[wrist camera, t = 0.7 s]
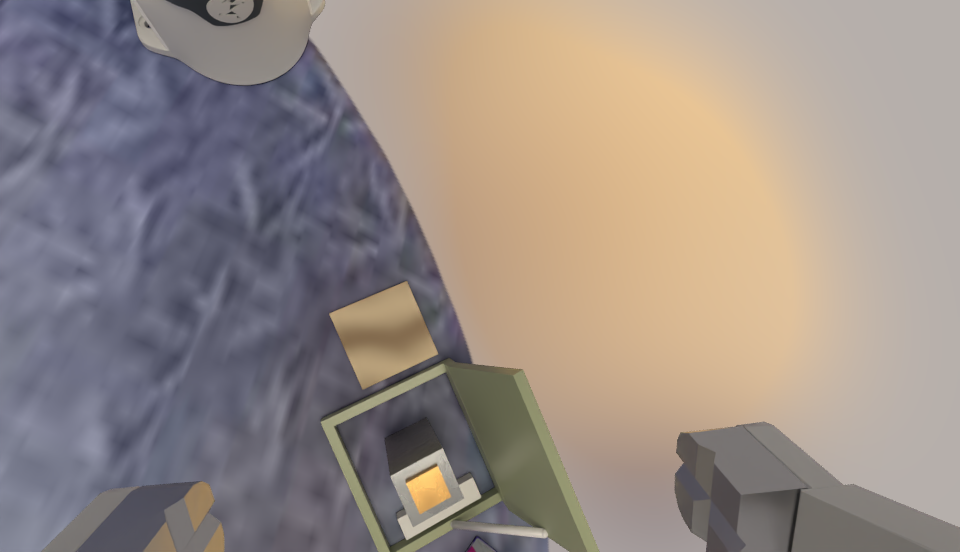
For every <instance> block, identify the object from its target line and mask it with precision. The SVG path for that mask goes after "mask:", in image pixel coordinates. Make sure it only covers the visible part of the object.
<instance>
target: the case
mask: <svg viewBox="0 0 960 552" xmlns="http://www.w3.org/2000/svg"><path fill="white" fill-rule="evenodd" d="M445 372H446V374H447V376H448V379H449V381H450V383H451V386H452V388H453V390H454V393H455V395H456V397H457V400H458V402H459V404H460V407H461V409H462V411H463V414H464V416H465V418H466V421H467V423H468V425H469V427H470V430H471V432H472V434H473V437H474V439H475V441H476V444H477V446H478V448H479V451H480V453H481V455H482V458H483V460H484V462H485V465H486V467H487V469H488V472H489V474H490V476H491V479H492V481H493V483H494V486H495V488H493V489H491V490H489V491H487V492H486V493H484V494H482V495H480V493H479V491H478V488H477V486H476V484H475V481H474V479H473V477H472V475H471V474H470V473H468V474H466V475H464V476H462V477H461V478H459V479H457V482H458V485H459V487H460V489H461V492H462V494H463V496H464V499H462V500H461V501H459V502H457V503H455V504H454V505H452V506H450V507H448V508H447V509H445V510H443V511H441V512H439V513H438V514H436V515H434V516H432V517H431V518H429V519H427V520H425V521H424V522H422V523H420V524H418V525H417V526H415V527H413V526H412V524H411V522H410V520H409V517H408V515H407V513H406V510H405V509H403V510H401V511H399V512H397V520H398V522H399V524H400V526H401V529H402V531H403V533H404V535H405V539H403V540H402V541H400V542H398V543H396V544H395V545H393V546H391V547H390V545H389V543H388V541H387V539H386V536H385V534H384V532H383V530H382V528H381V525H380V523H379V521H378V519H377V516H376V514H375V512H374V510H373V507H372V505H371V503H370V501H369V498H368V496H367V494H366V492H365V489H364V487H363V485H362V483H361V481H360V478H359V476H358V474H357V472H356V469H355V467H354V465H353V463H352V460H351V458H350V456H349V454H348V451H347V449H346V447H345V445H344V442H343V440H342V438H341V436H340V433H339V431H338V429H337V427H336V425H338V424H340V423H342V422H344V421H346V420H348V419H350V418H352V417H354V416H356V415H358V414H360V413H363V412H365V411H367V410H369V409H371V408H373V407H375V406H377V405H379V404H381V403H383V402H385V401H387V400H389V399H391V398H393V397H396V396H398V395H400V394H402V393H404V392H406V391H408V390H410V389H412V388H414V387H416V386H418V385H420V384H422V383H424V382H426V381H429V380H431V379H433V378H435V377H437V376H439V375H441V374H443V373H445ZM321 424H322V427H323V429H324V431H325V433H326V436H327V438H328V440H329V442H330V444H331V447H332V449H333V451H334V453H335V456H336V458H337V460H338V462H339V465H340V467H341V469H342V471H343V473H344V476H345V478H346V480H347V482H348V485H349V487H350V489H351V491H352V494H353V496H354V498H355V500H356V502H357V505H358V507H359V509H360V511H361V514H362V516H363V518H364V520H365V523H366V525H367V527H368V529H369V531H370V534H371V536H372V538H373V540H374V543H375V545H376V547H377V549H378V552H414V551H416V550H418V549H420V548H421V547H423V546H425V545H426V544H428V543H430V542H432V541H433V540H435V539H437V538H438V537H440V536H442V535H444V534H445V533H447V532H449V531H450V530H452V529H462V530H472V531H481V532H491V533H500V534H510V535H519V536H529V537H538V538H547V537H549V538H550V539H552V540H553V541H555V542H556V543H558V544H559V545H560V546H562V547H563V548H565V549H566V550H568V551H569V552H599V549H598V547H597V545H596V542H595V540H594V538H593V535H592V533H591V530H590V528H589V526H588V523H587V521H586V519H585V516H584V514H583V511H582V509H581V506H580V504H579V502H578V499H577V497H576V495H575V492H574V490H573V487H572V485H571V483H570V480H569V478H568V476H567V473H566V471H565V468H564V466H563V464H562V461H561V459H560V457H559V454H558V452H557V449H556V447H555V445H554V442H553V440H552V438H551V435H550V433H549V430H548V428H547V426H546V423H545V421H544V418H543V416H542V414H541V412H540V409H539V407H538V404H537V402H536V399H535V397H534V395H533V392H532V390H531V387H530V385H529V383H528V380H527V378H526V376H525V373H524V371H523V370H522V369H513V368H503V367H494V366H484V365H475V364H466V363H457V362H455V361H453V360H452V359H450V358H448V359H446V360H443V361H441V362H439V363H437V364H435V365H433V366H431V367H429V368H427V369H425V370H423V371H420V372H418V373H416V374H414V375H412V376H410V377H408V378H406V379H404V380H402V381H399V382H397V383H395V384H393V385H391V386H389V387H387V388H385V389H383V390H381V391H379V392H376V393H374V394H372V395H370V396H368V397H366V398H364V399H362V400H360V401H358V402H355V403H353V404H351V405H349V406H347V407H345V408H343V409H341V410H339V411H337V412H335V413H332V414H330V415H328V416H326V417H324V418H322V419H321ZM500 501H503V502H504V504H505V505H506V506H507V508H508V509H509V511H511V512H512V513H514V514H515V515H517V516H518V517H520V518H521V519H522V520H524V521H525V522H527V523H528V524H530V525H531V526H533V527H524V526H513V525H502V524H491V523H479V522H468V520H469V519H471V518H473V517H475V516H476V515H478V514H480V513H481V512H483V511H485V510H487V509H488V508H490V507H492V506H493V505H495V504H497V503H499V502H500Z"/></svg>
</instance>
